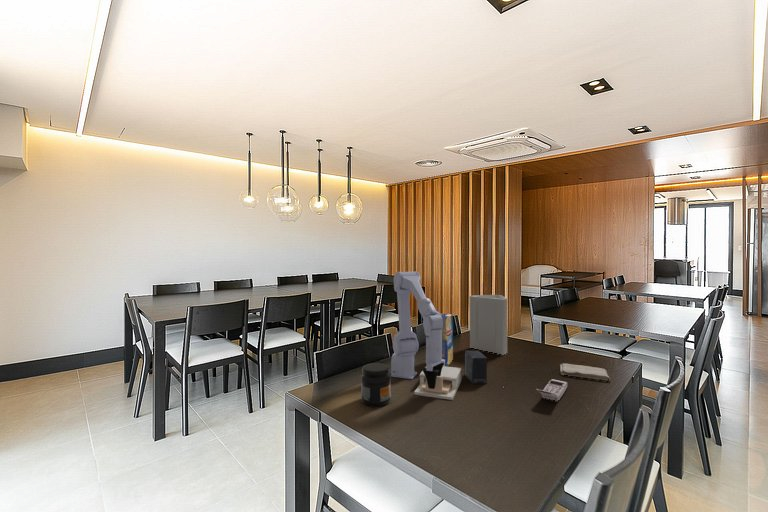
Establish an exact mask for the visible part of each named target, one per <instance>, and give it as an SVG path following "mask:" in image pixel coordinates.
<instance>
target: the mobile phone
mask: <svg viewBox="0 0 768 512" xmlns="http://www.w3.org/2000/svg"><path fill="white" fill-rule="evenodd" d="M567 389H568V382H567V381H563V380H557V379H553V378H552V379H550V380H549V381H548V383H547V384H546V385H545V387H544V388H543V389H538V388H535V390H536V391H537V392H538V393H540V395H541V396H542V398H543V399H545V398H546V399H545V400H549V399H550V401H553V400H555V401H554V402H559V401H560V399H561V398H562V397H563V395H564V394H565V392H566V391H567ZM558 400H559V401H558Z"/></svg>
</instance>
